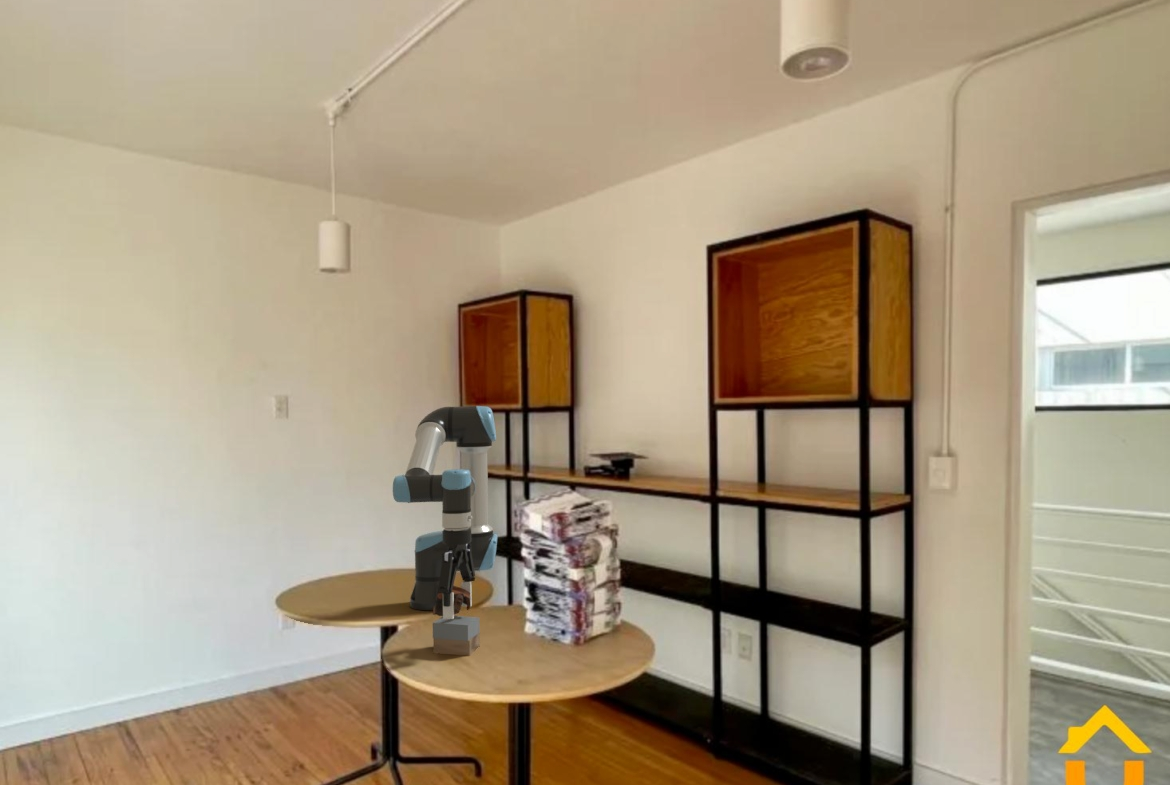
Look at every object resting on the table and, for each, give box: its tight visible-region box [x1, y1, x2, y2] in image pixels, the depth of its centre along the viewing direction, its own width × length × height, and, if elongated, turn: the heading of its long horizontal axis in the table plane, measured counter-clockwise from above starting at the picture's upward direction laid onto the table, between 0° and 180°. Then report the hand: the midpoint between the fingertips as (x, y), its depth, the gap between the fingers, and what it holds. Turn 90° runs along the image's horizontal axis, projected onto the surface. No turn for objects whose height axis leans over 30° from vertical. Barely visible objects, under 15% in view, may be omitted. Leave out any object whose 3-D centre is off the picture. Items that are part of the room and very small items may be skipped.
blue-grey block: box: [432, 615, 481, 641], centre depth 181 cm, size 7×10×4 cm
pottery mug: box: [432, 585, 471, 617], centre depth 181 cm, size 12×10×8 cm
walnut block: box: [432, 632, 481, 656], centre depth 181 cm, size 7×10×4 cm
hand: (457, 612), depth 182 cm, fingers closed on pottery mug, 11 cm apart
